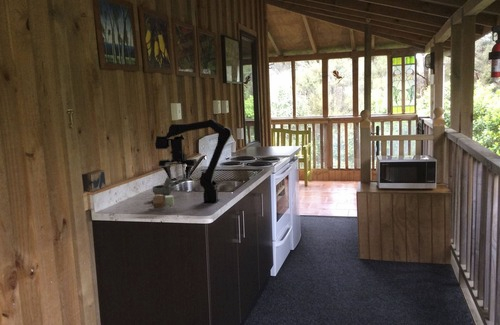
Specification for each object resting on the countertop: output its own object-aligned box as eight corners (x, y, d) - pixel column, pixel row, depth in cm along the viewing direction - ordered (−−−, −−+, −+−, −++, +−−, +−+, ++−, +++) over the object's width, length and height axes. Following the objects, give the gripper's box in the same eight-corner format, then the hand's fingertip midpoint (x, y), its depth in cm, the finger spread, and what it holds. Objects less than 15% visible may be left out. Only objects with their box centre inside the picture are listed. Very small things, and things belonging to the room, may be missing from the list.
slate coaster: (170, 206, 223) (170, 204, 223) (164, 209, 215) (164, 208, 215) (155, 206, 224) (155, 204, 224) (148, 209, 217) (148, 208, 217)
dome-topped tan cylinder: (161, 202, 231) (161, 194, 231) (164, 204, 228) (164, 195, 228) (153, 203, 229) (154, 194, 229) (156, 204, 226) (156, 195, 226)
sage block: (173, 202, 231) (173, 195, 230) (173, 204, 226) (172, 197, 225) (164, 203, 230) (163, 195, 230) (163, 205, 225) (162, 197, 225)
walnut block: (162, 207, 217) (161, 197, 216) (153, 207, 218) (152, 197, 217) (165, 205, 221) (165, 195, 221) (157, 205, 222) (156, 195, 222)
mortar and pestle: (149, 200, 239) (148, 178, 237) (161, 196, 247) (160, 175, 245) (166, 201, 233) (164, 179, 231) (177, 198, 241) (176, 176, 239)
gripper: (199, 146, 233) (201, 176, 235) (165, 147, 237) (167, 176, 239) (192, 149, 222) (194, 180, 224) (157, 149, 226) (159, 180, 228)
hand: (178, 179), depth 229 cm, fingers open, 9 cm apart
